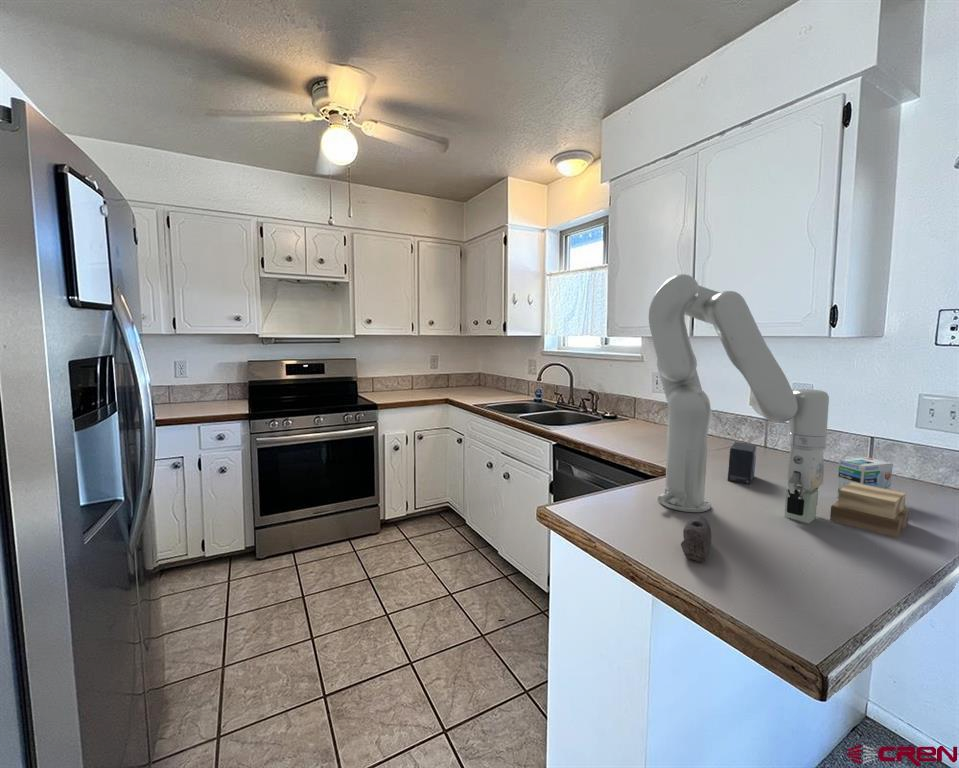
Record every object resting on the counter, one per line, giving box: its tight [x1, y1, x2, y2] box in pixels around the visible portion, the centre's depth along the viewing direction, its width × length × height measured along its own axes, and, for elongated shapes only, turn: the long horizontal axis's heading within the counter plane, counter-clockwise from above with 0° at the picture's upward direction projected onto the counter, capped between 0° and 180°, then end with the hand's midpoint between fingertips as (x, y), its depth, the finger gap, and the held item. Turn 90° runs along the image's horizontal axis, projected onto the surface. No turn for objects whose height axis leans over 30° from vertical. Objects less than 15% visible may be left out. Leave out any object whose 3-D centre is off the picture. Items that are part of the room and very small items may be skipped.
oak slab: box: [837, 482, 906, 519], centre depth 106 cm, size 10×10×4 cm
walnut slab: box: [829, 500, 910, 538], centre depth 106 cm, size 12×12×4 cm
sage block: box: [783, 488, 819, 524], centre depth 109 cm, size 5×5×7 cm
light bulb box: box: [836, 456, 894, 498], centre depth 121 cm, size 11×7×11 cm, turn 105°
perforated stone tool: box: [680, 515, 712, 563], centre depth 92 cm, size 15×5×7 cm, turn 147°
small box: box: [727, 441, 757, 485], centre depth 138 cm, size 11×6×10 cm, turn 143°
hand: (802, 509), depth 109 cm, fingers open, 9 cm apart
